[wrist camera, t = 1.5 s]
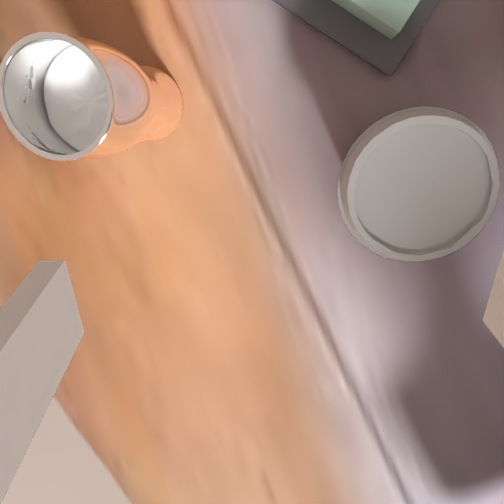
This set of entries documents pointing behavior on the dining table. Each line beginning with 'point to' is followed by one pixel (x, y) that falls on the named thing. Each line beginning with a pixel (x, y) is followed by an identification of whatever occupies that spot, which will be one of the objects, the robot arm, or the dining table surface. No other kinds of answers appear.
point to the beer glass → (83, 98)
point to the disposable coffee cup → (418, 184)
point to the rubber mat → (362, 30)
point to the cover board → (381, 13)
